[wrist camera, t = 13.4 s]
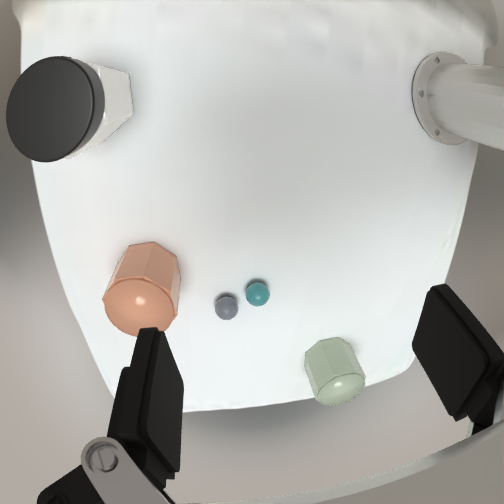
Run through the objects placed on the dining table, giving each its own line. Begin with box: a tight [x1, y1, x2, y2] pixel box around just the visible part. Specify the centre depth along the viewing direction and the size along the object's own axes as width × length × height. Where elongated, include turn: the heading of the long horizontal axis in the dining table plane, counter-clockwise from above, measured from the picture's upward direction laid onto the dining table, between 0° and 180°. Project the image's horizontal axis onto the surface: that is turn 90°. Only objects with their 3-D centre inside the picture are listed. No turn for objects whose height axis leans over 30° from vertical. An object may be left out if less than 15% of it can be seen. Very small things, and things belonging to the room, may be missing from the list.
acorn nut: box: [304, 337, 366, 406], centre depth 46 cm, size 8×8×8 cm
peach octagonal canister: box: [102, 242, 181, 337], centre depth 34 cm, size 8×8×8 cm
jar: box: [6, 56, 134, 162], centre depth 22 cm, size 9×8×12 cm
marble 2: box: [246, 282, 270, 306], centre depth 40 cm, size 3×3×3 cm
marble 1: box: [215, 297, 238, 320], centre depth 40 cm, size 3×3×3 cm
